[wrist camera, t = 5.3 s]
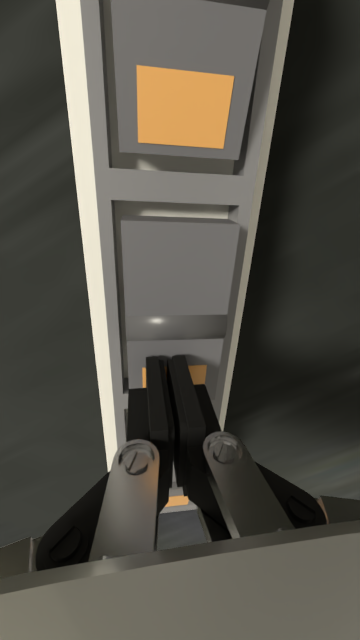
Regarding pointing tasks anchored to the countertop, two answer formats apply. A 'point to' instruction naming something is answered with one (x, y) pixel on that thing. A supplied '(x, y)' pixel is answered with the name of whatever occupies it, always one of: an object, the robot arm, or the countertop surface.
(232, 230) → the rocker
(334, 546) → the robot arm
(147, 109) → the rocker
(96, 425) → the countertop surface
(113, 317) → the power strip
